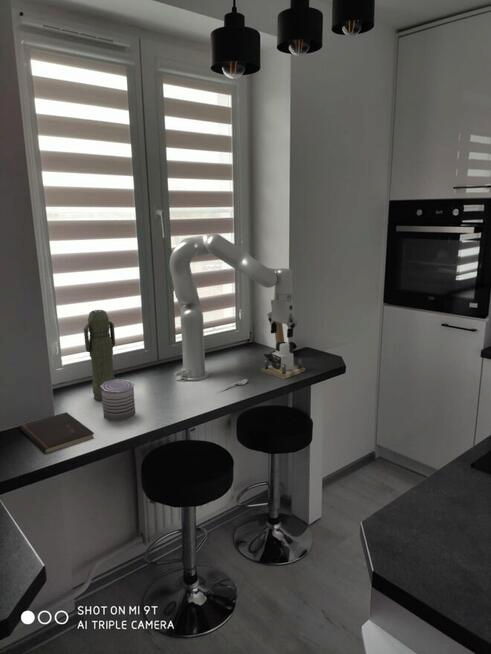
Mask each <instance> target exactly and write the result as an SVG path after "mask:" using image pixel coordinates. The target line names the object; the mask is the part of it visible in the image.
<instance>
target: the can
mask: <svg viewBox="0 0 491 654" xmlns="http://www.w3.org/2000/svg"><path fill="white" fill-rule="evenodd" d="M100 387H101V388H102V389H101V391H102V401H101V402H102V410H103V411H102V413H103V419H105V420H106V421H108V422H115V423H116V422H117V423H119V422H124V421H129V420H130V419H133V418H134V417H135V414H136V405H135V404H136V403H135V400H136V399H135V390H134V387H135V384H134V383H133V382H131V380H129V379H128V380H127V379H120V378H119V379H118V378H115V380H110V381H105V382H104V383H103V384H102V385H101V386H100Z"/></svg>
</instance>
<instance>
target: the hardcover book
mask: <svg viewBox="0 0 491 654" xmlns="http://www.w3.org/2000/svg"><path fill="white" fill-rule="evenodd" d="M20 430H21V431H22V433H24V434H25V435H26V436H27V437H28V438H29V439H30V440H31V442H33V443H34V444H35V445H36V446H37V447H38V448H39V449H40V450H41V451H42V452H43V453H44V454H47V453H51V452H54V451H56V450H60V449H63V448H66V447H68V446H69V447H70V446H71V445H75V444H78V443H81V442H85V441H86V440H91V439H93V438H94V435H95V432H94V431H92V430H91V429H89V428H88V427H87V426H86V425H84V424H83V423H82V422H81V421H79V420H77V419H76V418H75V417H74V416H72V415H71V414H70V413H68V412H67V411H66V412H62V413H59V414H56V415H52V416H48V417H45V418H41V419H37V420H35V421H30V422H27V423H23V424H21V425H20Z"/></svg>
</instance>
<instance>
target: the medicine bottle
mask: <svg viewBox="0 0 491 654" xmlns="http://www.w3.org/2000/svg"><path fill="white" fill-rule="evenodd" d="M289 343H290V342H287V341H284V342H278V343H277V344H276V343H275V350H276V352H274V353H272V360H271V365H272V368H274V369H276V370H278V371H281V372H282V365H283V364H285V365H286V370H291V369H293V365H294V353H290V352H289Z"/></svg>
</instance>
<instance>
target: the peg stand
mask: <svg viewBox="0 0 491 654" xmlns="http://www.w3.org/2000/svg"><path fill="white" fill-rule="evenodd" d="M302 361H303V360H302V358H301V359H300V358H298V359H297V365H296V364H293V369H291V370H286V365H285V364H283V365H282V372H281V371H278V370H276V369H274V368H272V364H271V365H269V359H267V358H266V359H264V367H262V368H260V369H261V372H262V373H265V374H267V375H271V376H274V377H277V378H280V379H284V380H285V379H288V378H290V377H293V376H295V375H299V374H301V372H302V373H304V372H306V367H304V366H302V365H303V363H302Z"/></svg>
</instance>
